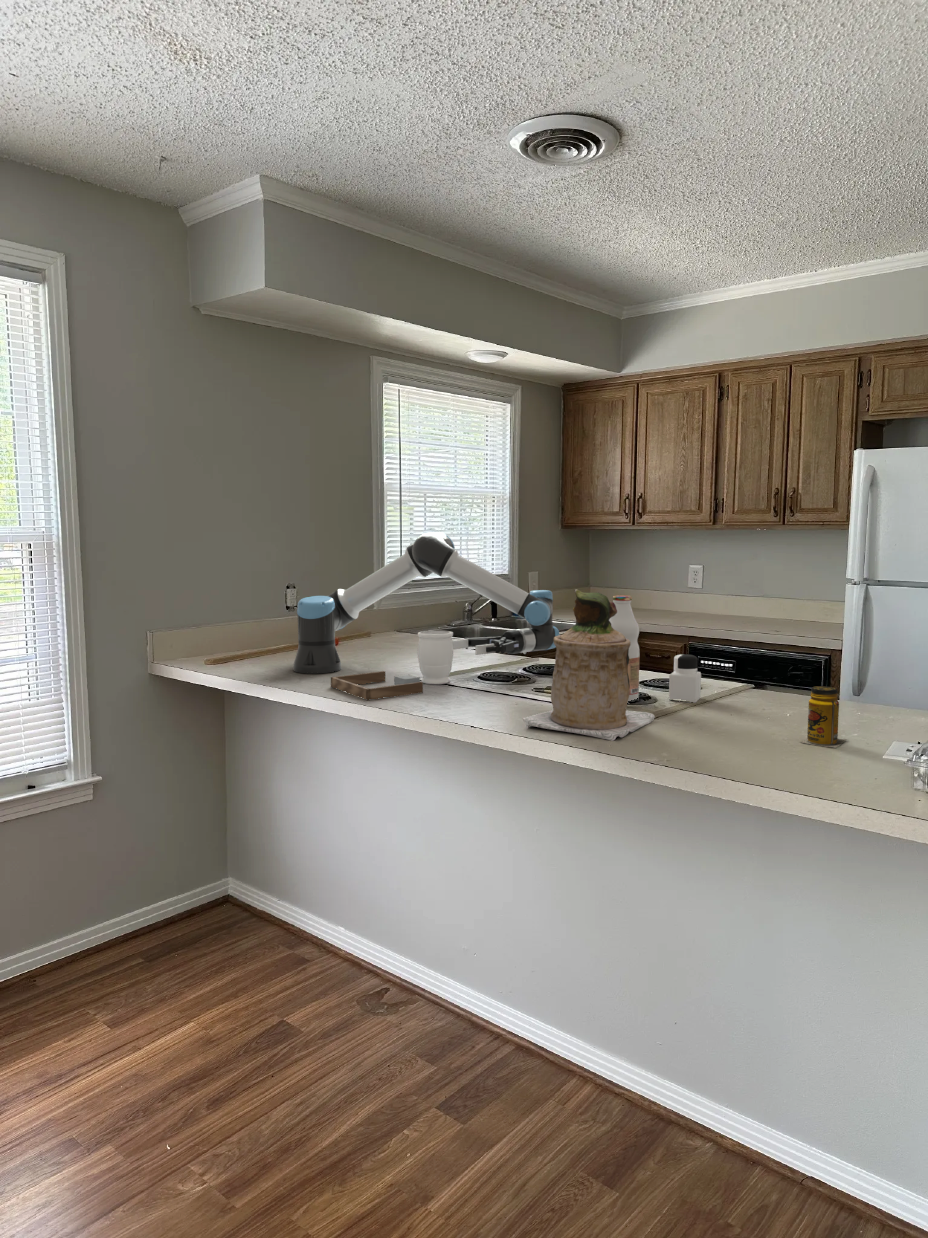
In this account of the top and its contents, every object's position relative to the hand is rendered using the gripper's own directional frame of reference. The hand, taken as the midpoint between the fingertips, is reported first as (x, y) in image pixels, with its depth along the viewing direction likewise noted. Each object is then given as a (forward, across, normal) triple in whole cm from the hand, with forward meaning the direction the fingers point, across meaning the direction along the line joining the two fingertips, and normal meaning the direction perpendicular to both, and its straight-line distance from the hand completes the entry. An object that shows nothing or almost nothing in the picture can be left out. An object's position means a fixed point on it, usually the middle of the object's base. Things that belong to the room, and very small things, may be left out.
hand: (462, 647), depth 259 cm
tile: (+20, 0, -10) cm, 22 cm away
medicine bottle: (-31, -60, -10) cm, 68 cm away
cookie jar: (+9, -65, -10) cm, 66 cm away
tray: (+30, 0, -9) cm, 32 cm away
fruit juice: (-16, -51, -10) cm, 54 cm away
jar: (+10, 0, -10) cm, 14 cm away
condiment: (-21, -107, -10) cm, 109 cm away
